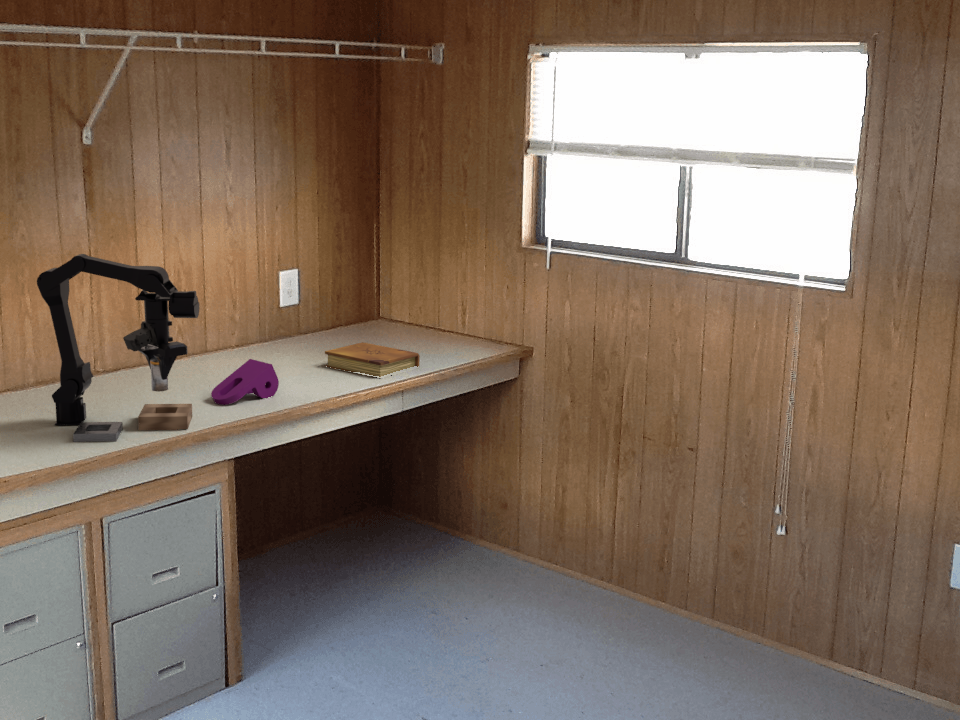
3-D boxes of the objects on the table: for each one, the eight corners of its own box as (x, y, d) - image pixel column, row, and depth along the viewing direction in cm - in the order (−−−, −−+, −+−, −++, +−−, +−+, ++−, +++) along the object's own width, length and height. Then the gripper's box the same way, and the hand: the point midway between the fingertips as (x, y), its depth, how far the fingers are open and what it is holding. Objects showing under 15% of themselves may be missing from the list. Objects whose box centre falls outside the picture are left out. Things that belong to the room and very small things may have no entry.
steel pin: (150, 391, 286) (148, 360, 285) (153, 387, 290) (151, 357, 289) (167, 391, 287) (165, 360, 285) (169, 387, 291) (168, 356, 289)
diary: (419, 370, 358) (419, 352, 357) (380, 381, 343) (381, 362, 342) (364, 358, 371) (364, 341, 370) (324, 368, 356) (324, 350, 355)
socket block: (138, 430, 285) (138, 416, 285) (145, 417, 297) (144, 404, 296) (187, 429, 287) (187, 416, 286) (192, 416, 299) (191, 403, 298)
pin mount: (73, 441, 275) (73, 434, 274) (81, 429, 284) (81, 422, 284) (116, 441, 276) (115, 433, 276) (122, 429, 286) (122, 421, 285)
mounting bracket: (237, 426, 312) (282, 388, 322) (226, 402, 307) (272, 364, 318) (215, 419, 318) (260, 382, 328) (204, 395, 313) (250, 358, 324)
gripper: (108, 316, 285) (112, 376, 289) (146, 327, 273) (149, 390, 276) (148, 310, 293) (151, 369, 297) (187, 321, 280) (190, 382, 284)
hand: (159, 377), depth 288 cm, fingers closed on steel pin, 4 cm apart
